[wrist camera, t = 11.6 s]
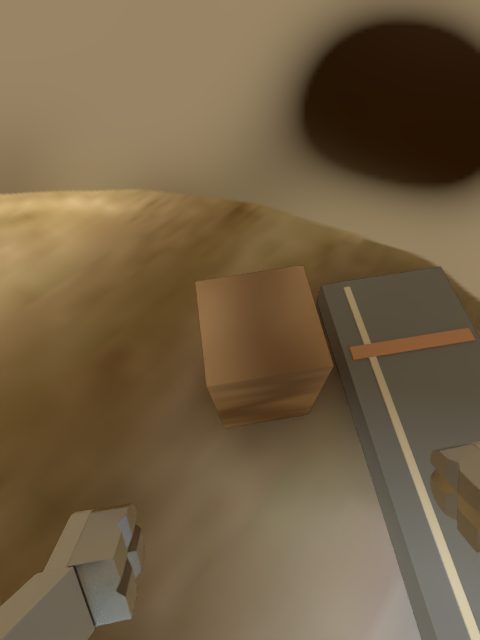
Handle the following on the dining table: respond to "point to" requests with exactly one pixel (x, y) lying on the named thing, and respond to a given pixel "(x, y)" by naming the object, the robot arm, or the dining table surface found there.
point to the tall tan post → (262, 345)
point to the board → (413, 425)
